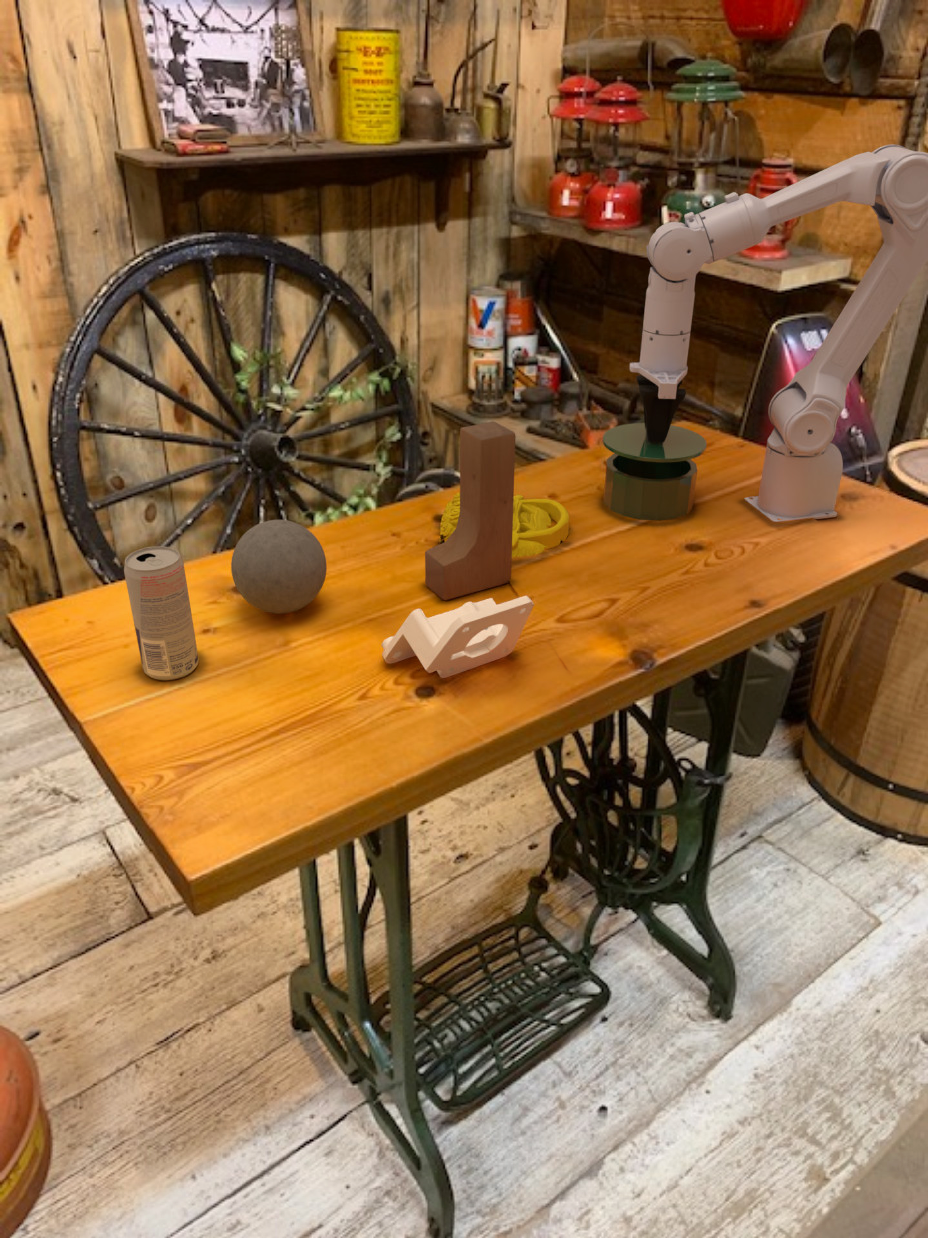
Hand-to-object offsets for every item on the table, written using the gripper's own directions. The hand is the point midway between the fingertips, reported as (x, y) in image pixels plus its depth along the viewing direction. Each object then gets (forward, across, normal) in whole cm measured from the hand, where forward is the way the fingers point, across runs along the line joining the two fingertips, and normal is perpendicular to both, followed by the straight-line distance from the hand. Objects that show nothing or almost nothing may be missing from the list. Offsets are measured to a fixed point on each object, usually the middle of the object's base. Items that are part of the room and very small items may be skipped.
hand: (655, 436), depth 126 cm
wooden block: (+10, +24, -22) cm, 34 cm away
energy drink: (+10, +43, -50) cm, 67 cm away
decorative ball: (+10, +31, -42) cm, 53 cm away
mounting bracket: (+10, +41, -22) cm, 48 cm away
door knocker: (+10, +10, -19) cm, 23 cm away
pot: (+10, 0, 0) cm, 10 cm away
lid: (+1, 0, 0) cm, 1 cm away
